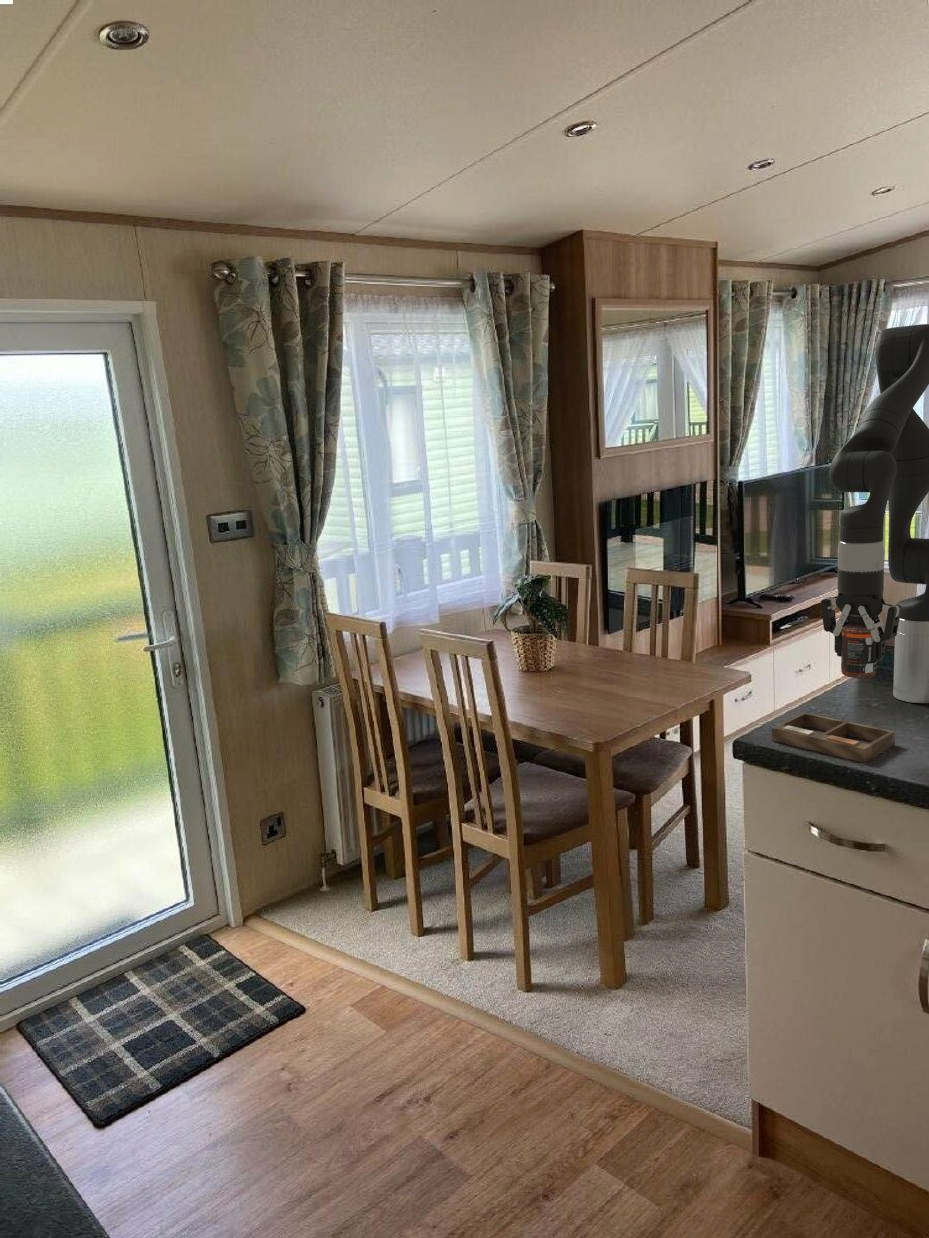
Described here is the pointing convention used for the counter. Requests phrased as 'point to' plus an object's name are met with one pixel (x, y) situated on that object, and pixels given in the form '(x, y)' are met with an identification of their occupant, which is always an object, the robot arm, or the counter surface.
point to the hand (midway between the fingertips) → (858, 657)
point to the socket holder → (833, 736)
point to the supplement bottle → (857, 649)
